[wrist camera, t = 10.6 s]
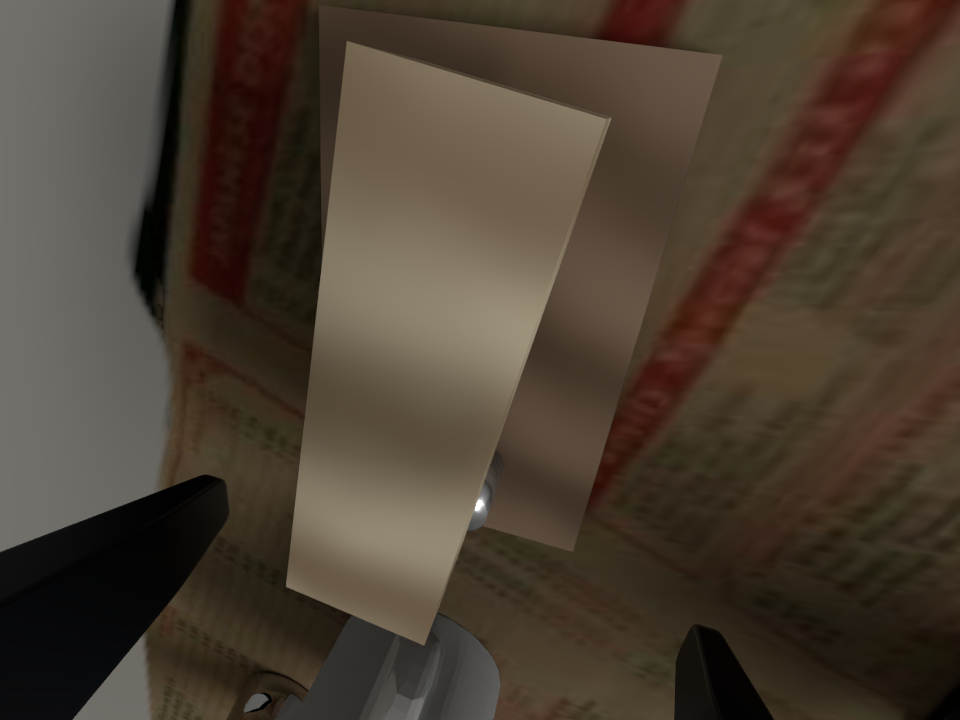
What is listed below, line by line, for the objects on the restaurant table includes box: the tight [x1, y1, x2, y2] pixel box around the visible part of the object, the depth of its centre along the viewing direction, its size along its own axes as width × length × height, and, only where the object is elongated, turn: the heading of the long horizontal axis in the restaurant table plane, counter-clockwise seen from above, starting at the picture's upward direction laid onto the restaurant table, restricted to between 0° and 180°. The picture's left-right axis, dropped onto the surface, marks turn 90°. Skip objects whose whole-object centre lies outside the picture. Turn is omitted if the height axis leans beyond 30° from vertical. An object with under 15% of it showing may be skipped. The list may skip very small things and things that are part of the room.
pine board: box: [286, 41, 612, 645], centre depth 15 cm, size 16×5×4 cm, turn 165°
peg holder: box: [319, 5, 723, 552], centre depth 18 cm, size 19×12×4 cm, turn 173°
